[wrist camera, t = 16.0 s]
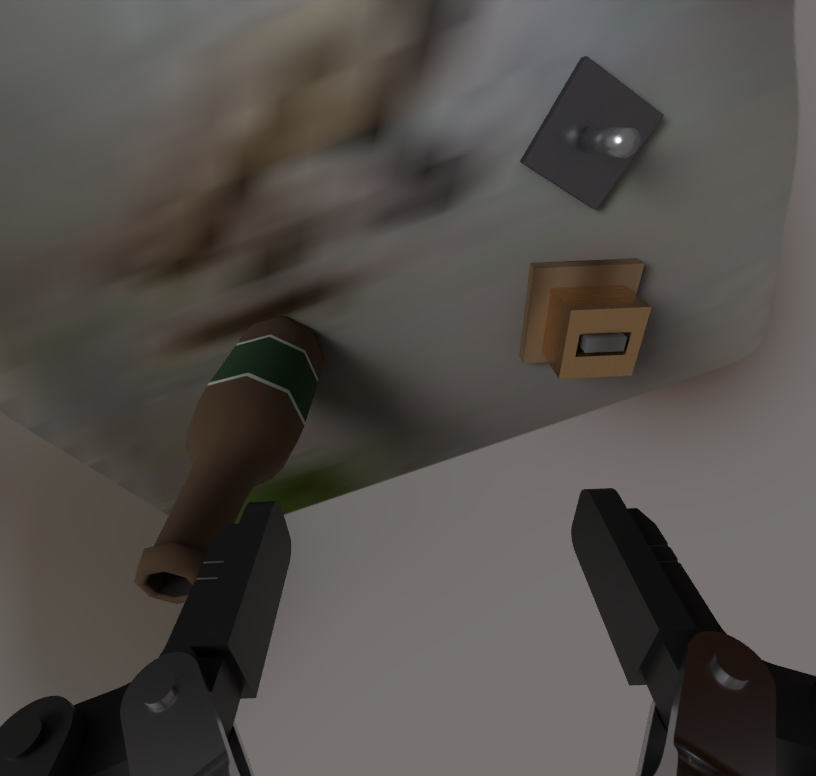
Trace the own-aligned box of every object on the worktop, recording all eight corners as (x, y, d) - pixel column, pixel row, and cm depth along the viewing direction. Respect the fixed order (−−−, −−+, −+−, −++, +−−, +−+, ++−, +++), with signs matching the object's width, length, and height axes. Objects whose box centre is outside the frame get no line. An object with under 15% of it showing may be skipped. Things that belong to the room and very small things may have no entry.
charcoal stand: (519, 161, 32) (545, 170, 26) (580, 57, 28) (624, 43, 23) (591, 207, 34) (628, 224, 28) (656, 115, 30) (713, 114, 25)
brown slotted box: (541, 350, 39) (558, 378, 35) (550, 287, 36) (571, 310, 31) (606, 347, 39) (631, 375, 35) (621, 284, 35) (651, 306, 31)
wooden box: (519, 355, 41) (539, 396, 35) (530, 263, 36) (556, 291, 30) (612, 351, 41) (648, 391, 35) (635, 258, 36) (682, 285, 30)
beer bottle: (286, 398, 43) (186, 646, 23) (225, 344, 40) (44, 580, 19) (342, 356, 40) (287, 594, 20) (283, 296, 37) (144, 508, 17)
